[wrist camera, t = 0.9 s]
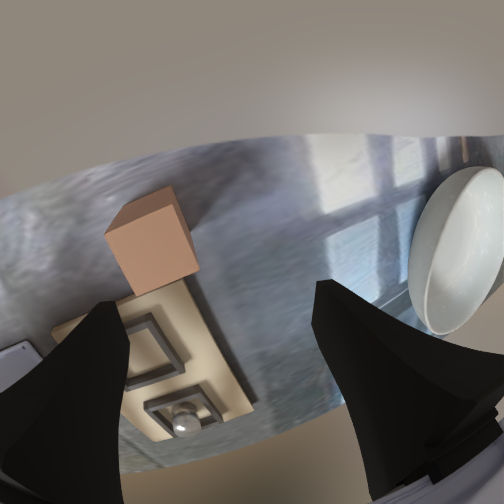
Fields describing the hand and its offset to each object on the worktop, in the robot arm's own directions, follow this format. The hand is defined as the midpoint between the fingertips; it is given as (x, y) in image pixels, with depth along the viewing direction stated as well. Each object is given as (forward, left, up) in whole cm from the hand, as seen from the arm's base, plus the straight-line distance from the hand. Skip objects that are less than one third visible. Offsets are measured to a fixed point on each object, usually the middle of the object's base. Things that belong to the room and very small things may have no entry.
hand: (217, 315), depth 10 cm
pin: (-9, -19, -13) cm, 25 cm away
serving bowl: (+28, -13, -13) cm, 33 cm away
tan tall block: (-2, +1, -13) cm, 13 cm away
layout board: (-9, -14, -13) cm, 21 cm away
